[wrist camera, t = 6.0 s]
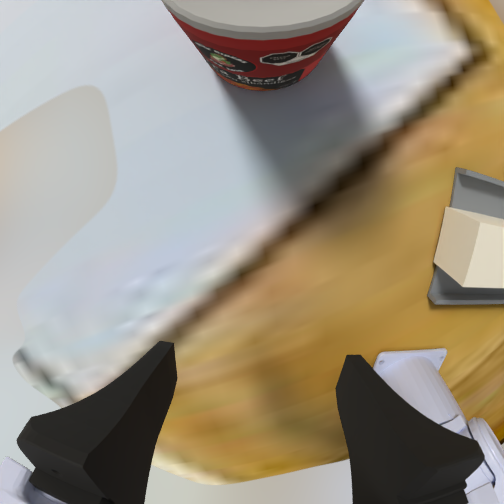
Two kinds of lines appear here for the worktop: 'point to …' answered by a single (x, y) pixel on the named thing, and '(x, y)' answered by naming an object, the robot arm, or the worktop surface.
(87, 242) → the worktop surface
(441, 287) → the tray
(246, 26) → the canned food
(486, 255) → the cream block
